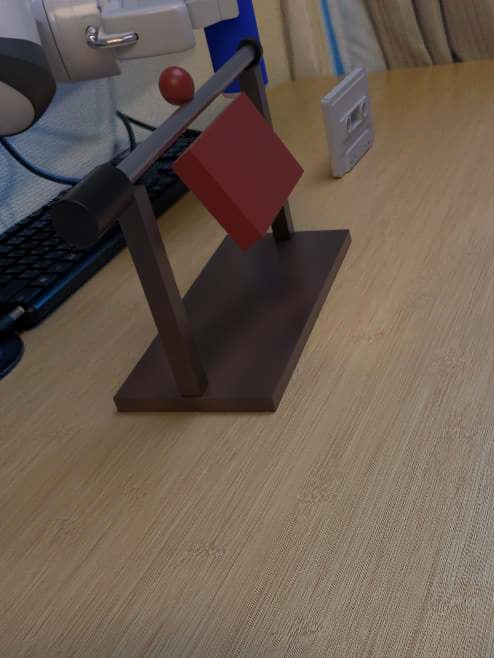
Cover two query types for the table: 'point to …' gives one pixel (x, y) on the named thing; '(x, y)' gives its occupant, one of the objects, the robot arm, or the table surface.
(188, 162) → the foosball rod
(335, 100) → the cassette
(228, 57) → the beverage can
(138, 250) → the rod stand
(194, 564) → the table surface
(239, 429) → the table surface
